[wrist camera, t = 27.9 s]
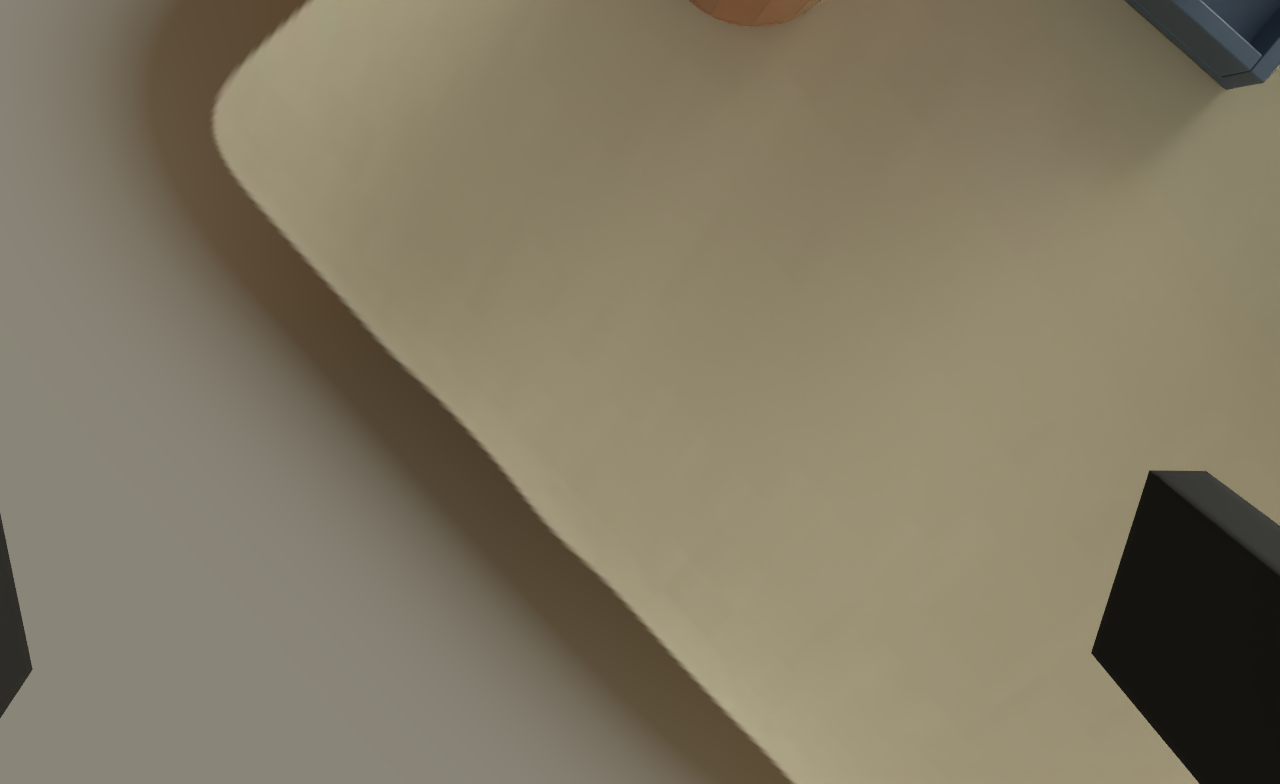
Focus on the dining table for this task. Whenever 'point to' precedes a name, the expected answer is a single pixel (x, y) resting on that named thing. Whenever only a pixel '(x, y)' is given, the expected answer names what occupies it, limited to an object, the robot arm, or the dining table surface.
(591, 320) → the dining table surface
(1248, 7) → the tray
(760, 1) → the terracotta cup
